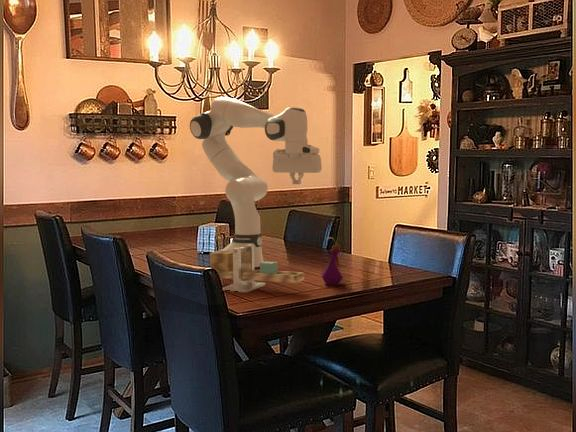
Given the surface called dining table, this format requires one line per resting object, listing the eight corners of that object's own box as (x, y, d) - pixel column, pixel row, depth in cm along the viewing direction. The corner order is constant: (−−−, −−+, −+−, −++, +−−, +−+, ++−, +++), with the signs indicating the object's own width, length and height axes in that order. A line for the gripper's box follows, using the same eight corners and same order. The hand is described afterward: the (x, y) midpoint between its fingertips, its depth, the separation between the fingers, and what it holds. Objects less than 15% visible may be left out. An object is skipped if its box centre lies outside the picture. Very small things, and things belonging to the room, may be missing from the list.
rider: (260, 276, 238) (259, 263, 238) (265, 274, 242) (265, 261, 241) (272, 277, 236) (271, 263, 236) (277, 275, 240) (277, 261, 239)
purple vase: (340, 282, 253) (340, 235, 251) (342, 286, 245) (342, 238, 243) (321, 282, 252) (320, 236, 251) (322, 286, 245) (322, 238, 243)
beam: (210, 277, 247) (209, 251, 246) (220, 274, 253) (219, 249, 252) (296, 283, 231) (295, 255, 230) (304, 279, 236) (303, 252, 235)
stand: (222, 290, 241) (221, 248, 239) (242, 283, 253) (242, 243, 252) (246, 292, 236) (245, 250, 235) (265, 285, 248) (264, 244, 247)
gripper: (269, 149, 260) (269, 184, 262) (316, 148, 251) (316, 185, 252) (276, 149, 266) (277, 183, 267) (323, 148, 256) (323, 184, 258)
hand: (296, 184), depth 259 cm, fingers closed
